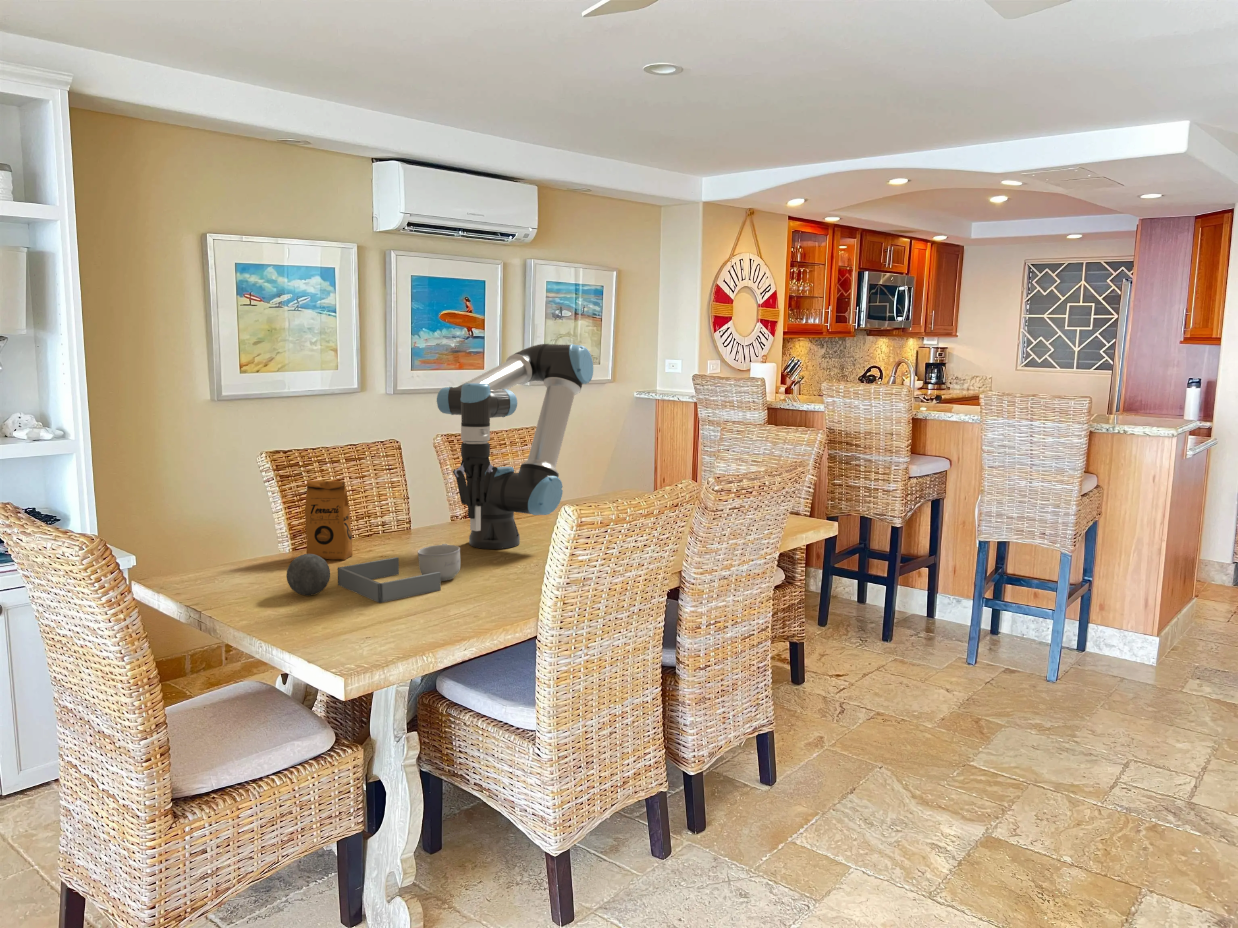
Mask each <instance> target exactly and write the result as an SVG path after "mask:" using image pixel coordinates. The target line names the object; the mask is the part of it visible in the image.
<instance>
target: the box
mask: <svg viewBox="0 0 1238 928" xmlns="http://www.w3.org/2000/svg"><path fill="white" fill-rule="evenodd" d="M399 561H400V559H399V556H396V557H395V556H394V557H391V558H389V557H388V558H384V559H383V558H382V559H379V560H373V561H367V562H362V563H355V564H352V565H351V564H349V565H345V566H340V567H339V566H338V567H337V586H340V587H342V588H343V589H347V590H349V591H350V592H354V593H355V594H358V595H360V596H362V597H364V598H365V597H366V598H367V599H370V600H372V601H374V602H377V603H379V604H381V603H386V602H390V601H395V600H401V599H405V598H410V597H414V596H420V595H423V594H429V593H433V592H439V591H441V587H442V586H441V584H442V583H441V582H442V581H441V574H440V572H435V573H430V574H425V575H422V574H421V575H415V576H411V577H410V576H409V577H405V578H400V579H394V580H390V581H385V582H378V581H376V579H383V578H387V577H393V576H398V575H399V574H400V567H399V566H400V565H399V563H400V562H399Z"/></svg>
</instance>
